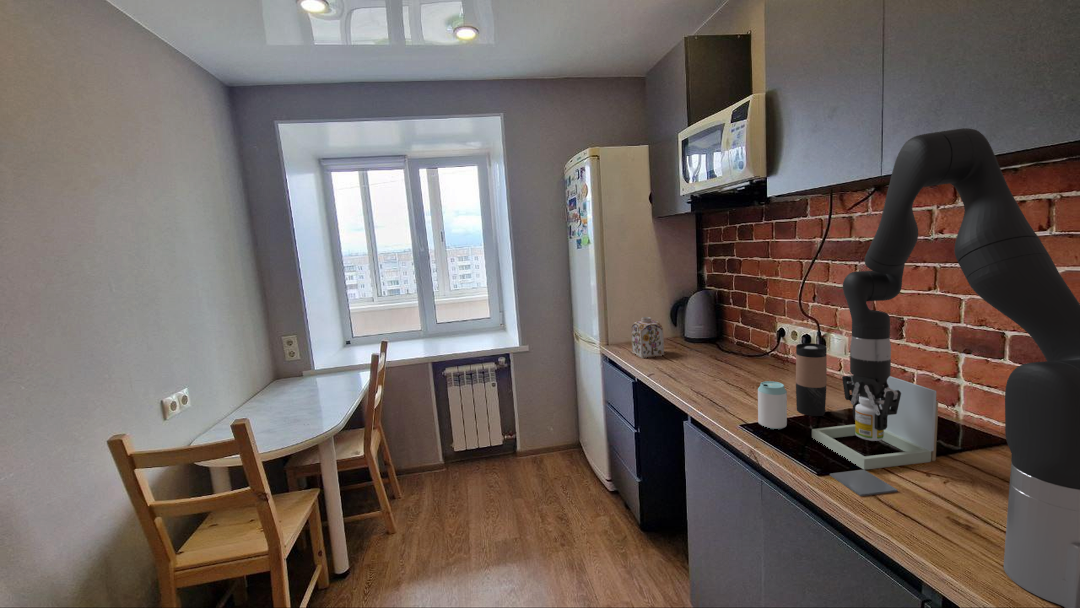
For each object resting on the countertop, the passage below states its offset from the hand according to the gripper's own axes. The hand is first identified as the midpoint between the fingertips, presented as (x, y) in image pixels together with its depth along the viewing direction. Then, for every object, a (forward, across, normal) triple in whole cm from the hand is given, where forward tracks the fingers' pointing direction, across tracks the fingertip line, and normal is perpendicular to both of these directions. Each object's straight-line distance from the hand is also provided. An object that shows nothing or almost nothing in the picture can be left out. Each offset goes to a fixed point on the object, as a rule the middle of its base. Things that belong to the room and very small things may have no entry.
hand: (869, 424), depth 100 cm
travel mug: (+6, +24, -3) cm, 25 cm away
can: (+6, +18, +12) cm, 23 cm away
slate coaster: (+7, -12, +12) cm, 19 cm away
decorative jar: (+5, +104, +19) cm, 106 cm away
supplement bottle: (+3, 0, 0) cm, 3 cm away
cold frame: (+6, 0, 0) cm, 6 cm away
